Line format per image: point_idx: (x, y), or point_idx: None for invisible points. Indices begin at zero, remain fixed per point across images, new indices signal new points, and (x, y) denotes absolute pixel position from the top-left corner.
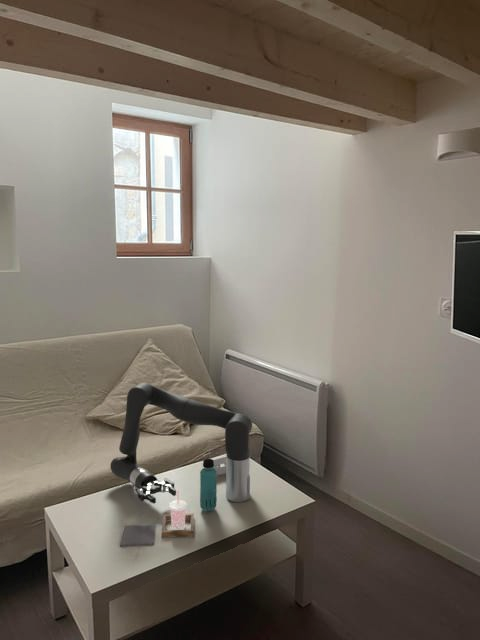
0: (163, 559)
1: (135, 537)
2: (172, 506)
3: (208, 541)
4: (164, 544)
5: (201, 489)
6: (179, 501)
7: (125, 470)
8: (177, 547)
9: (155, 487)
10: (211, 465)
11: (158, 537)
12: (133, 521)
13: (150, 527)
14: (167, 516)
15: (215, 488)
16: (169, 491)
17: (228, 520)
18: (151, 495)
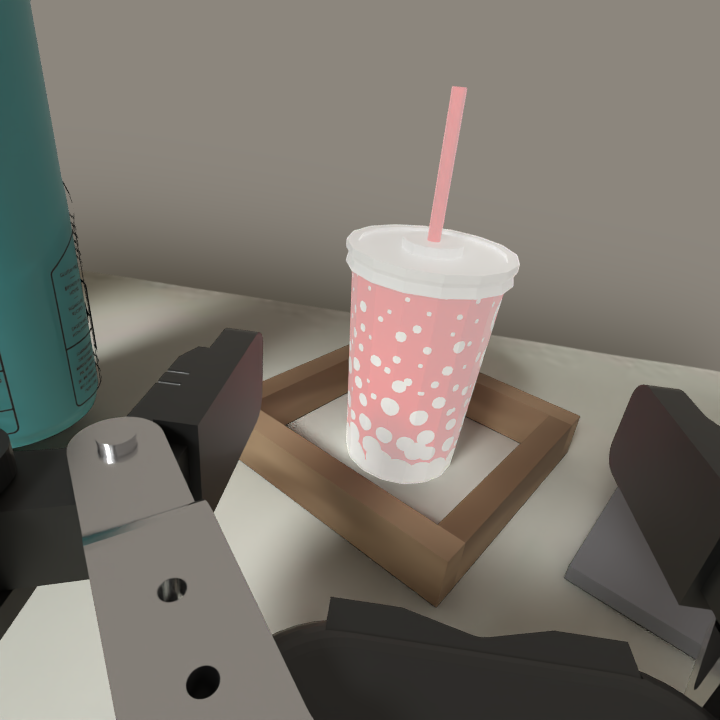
0: (613, 363)
1: None
2: (493, 260)
3: (349, 319)
4: (570, 410)
5: (42, 215)
6: (385, 256)
7: None
8: (509, 366)
9: (505, 658)
10: None
11: (588, 466)
12: None
13: (637, 566)
14: (423, 520)
15: None
16: (212, 489)
17: (113, 327)
18: (717, 453)
